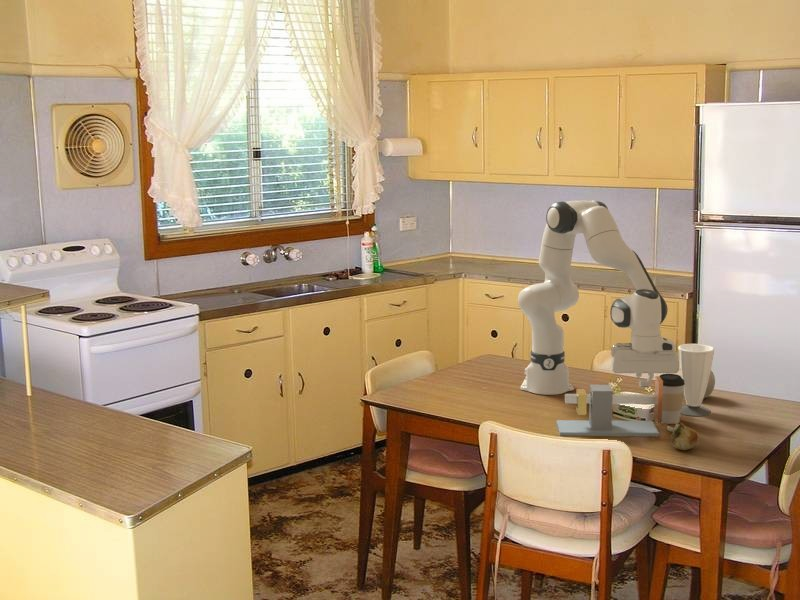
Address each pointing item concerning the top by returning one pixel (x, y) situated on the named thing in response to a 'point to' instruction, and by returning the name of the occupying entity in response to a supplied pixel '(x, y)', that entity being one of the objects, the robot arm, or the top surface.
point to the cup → (695, 376)
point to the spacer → (581, 401)
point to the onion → (683, 437)
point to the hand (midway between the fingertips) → (644, 386)
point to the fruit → (710, 385)
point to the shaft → (633, 399)
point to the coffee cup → (672, 398)
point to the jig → (604, 419)
